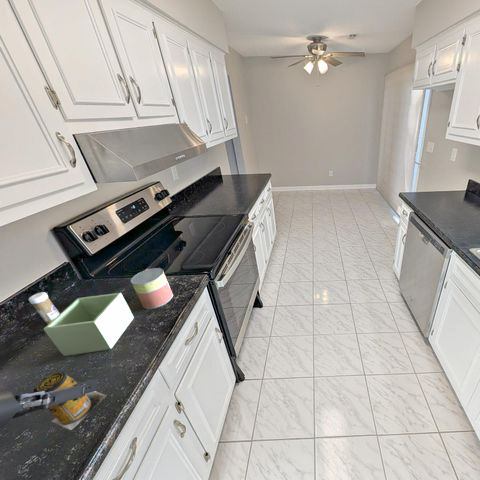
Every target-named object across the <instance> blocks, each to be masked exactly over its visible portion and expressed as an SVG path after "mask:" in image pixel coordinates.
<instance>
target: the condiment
mask: <svg viewBox="0 0 480 480" xmlns="http://www.w3.org/2000/svg"><path fill="white" fill-rule="evenodd" d="M75 384H78V382H77V381H76V380H75V379H74V378H73V377H71V376H69V375H68V373H67V372H65V371H57V372H53V373H51V374H49V375H47V376H46V377H44V378H43V379H42V380H41V381H40V382H39V383H38V384H37V385H36V386H35V388H36V392H39V391H45V392H50V391H54V390H59V389H63V388H67V387H71V386H73V385H75ZM107 396H108V394H105V393H102V392H99V391H94V392H91V393H87V394H85V396H83V397H79V398H78V400H77V401H73V400H70V401H66V402H63V403H60V404H57V405H53V406H51V407H49V408H46V410H48V411H49V412H50V413H51V414H52V415H53V416H54V417H55V418H54V419H53V420H51V423H54V424H55V425H58V426H61V427H62V428H65V429H67V430H70V431H72V430H73V429H75V428H76V427H77V426H78V425H79V424H80V423H81V422H82V421H83V420H85V418H87V416H88V415H89V414H90V413H91V412H92V411H93V410H94V409H95V408H96V407H97V406H98V405H99V404H101V402H102V401H104V399H105V398H106V397H107Z"/></svg>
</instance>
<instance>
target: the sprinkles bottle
mask: <svg viewBox="0 0 480 480" xmlns="http://www.w3.org/2000/svg"><path fill="white" fill-rule="evenodd" d="M28 301H29V303H30V304H31V305H32V306H33V307H34V308H35V310H36V312H37V313H38V314H39V316H40V317H41V319H42V320H43V321H44V322H45V323H46V324H47V325H48V324H50V323H51V322H52V321H53V320H54V319H55V318H56V317H57V316H58V315H60V314H61V312H59V310H58V309H57V307H56V306H55V305H54V303H53V302H52V300H51V299H50V298H49V295H48V294H47V293H46V292H45V291H42V292H37V293H35V294H33V295H31V296H29V298H28Z"/></svg>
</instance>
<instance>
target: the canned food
mask: <svg viewBox="0 0 480 480" xmlns="http://www.w3.org/2000/svg"><path fill="white" fill-rule="evenodd" d="M130 283H131V285H132V286H133V288H134V291H135V293H136V295H137V297H138V299H139V301H140V303H141V306H142V308H144V309H147V310H152V309H153V310H154V309H157V308H160V307H162V306H164V305H166V304H168V302H170V301H172V298H174V297H173V296H174V293H173V291H172V289H171V286H170V283H169V281H168V279H167V276H166V274H165V271H164V269H163V268H161V267H154V268H153V267H152V268H148V269H145V270H142V271H140V272H137V274H135V275H133V277H131V279H130Z"/></svg>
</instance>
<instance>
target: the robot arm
mask: <svg viewBox="0 0 480 480" xmlns="http://www.w3.org/2000/svg"><path fill="white" fill-rule="evenodd" d="M98 382H99V378H95V379H91V380H87V381H82V382H80V383H77V384H75V385H73V386H71V387H67V388H63V389H59V390H54V391H50V392H45V391H39V392H36V387H35V388H33V392H24V393H21V394H15V395H14V394H13V393H12V392H11V391H10V390H9V389H4V388H0V431H1V430H3V429H4V428H5V427H6V426H7V425H8V424H9V423H10V421H12V419H17V418H19V417H20V418H21V417H23V416H25V415H27V414H30V413H34V412H37V411H40V410H47V408H49V407H51V406H53V405H57V404H60V403H63V402H66V401H70V400H73V401H77V400H78V398H79V397H83V396H85V394H87V393H91V392H94V391H96V392H98V385H99V384H98Z"/></svg>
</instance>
